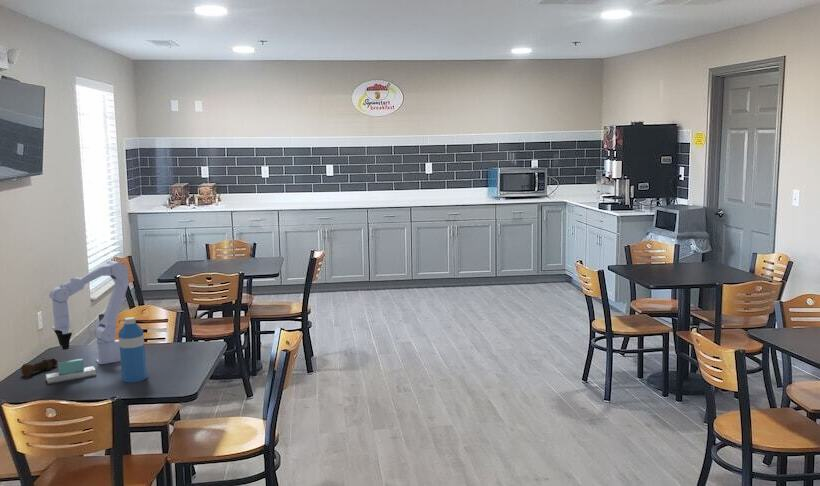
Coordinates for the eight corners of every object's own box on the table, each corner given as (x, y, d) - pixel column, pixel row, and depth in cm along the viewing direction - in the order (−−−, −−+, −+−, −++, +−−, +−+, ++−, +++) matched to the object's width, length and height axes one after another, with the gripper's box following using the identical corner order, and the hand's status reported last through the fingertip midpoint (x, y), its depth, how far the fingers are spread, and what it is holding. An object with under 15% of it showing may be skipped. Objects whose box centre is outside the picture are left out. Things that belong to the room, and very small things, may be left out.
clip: (83, 373, 316) (81, 358, 316) (84, 375, 314) (82, 359, 313) (59, 377, 312) (58, 362, 311) (60, 379, 310) (59, 363, 309)
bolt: (57, 370, 331) (27, 379, 317) (49, 363, 332) (19, 372, 319) (61, 359, 329) (31, 368, 316) (53, 353, 331) (23, 361, 317)
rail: (93, 371, 320) (93, 366, 320) (96, 375, 315) (95, 369, 315) (46, 380, 311) (45, 374, 310) (48, 384, 306) (47, 378, 305)
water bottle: (151, 376, 312) (147, 316, 308) (136, 383, 303) (131, 321, 300) (132, 374, 315) (127, 315, 311) (117, 381, 306) (112, 320, 303)
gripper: (48, 314, 325) (51, 345, 327) (53, 320, 312) (56, 352, 314) (66, 311, 328) (69, 342, 330) (71, 317, 316) (74, 349, 318)
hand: (64, 347), depth 323 cm, fingers open, 7 cm apart
